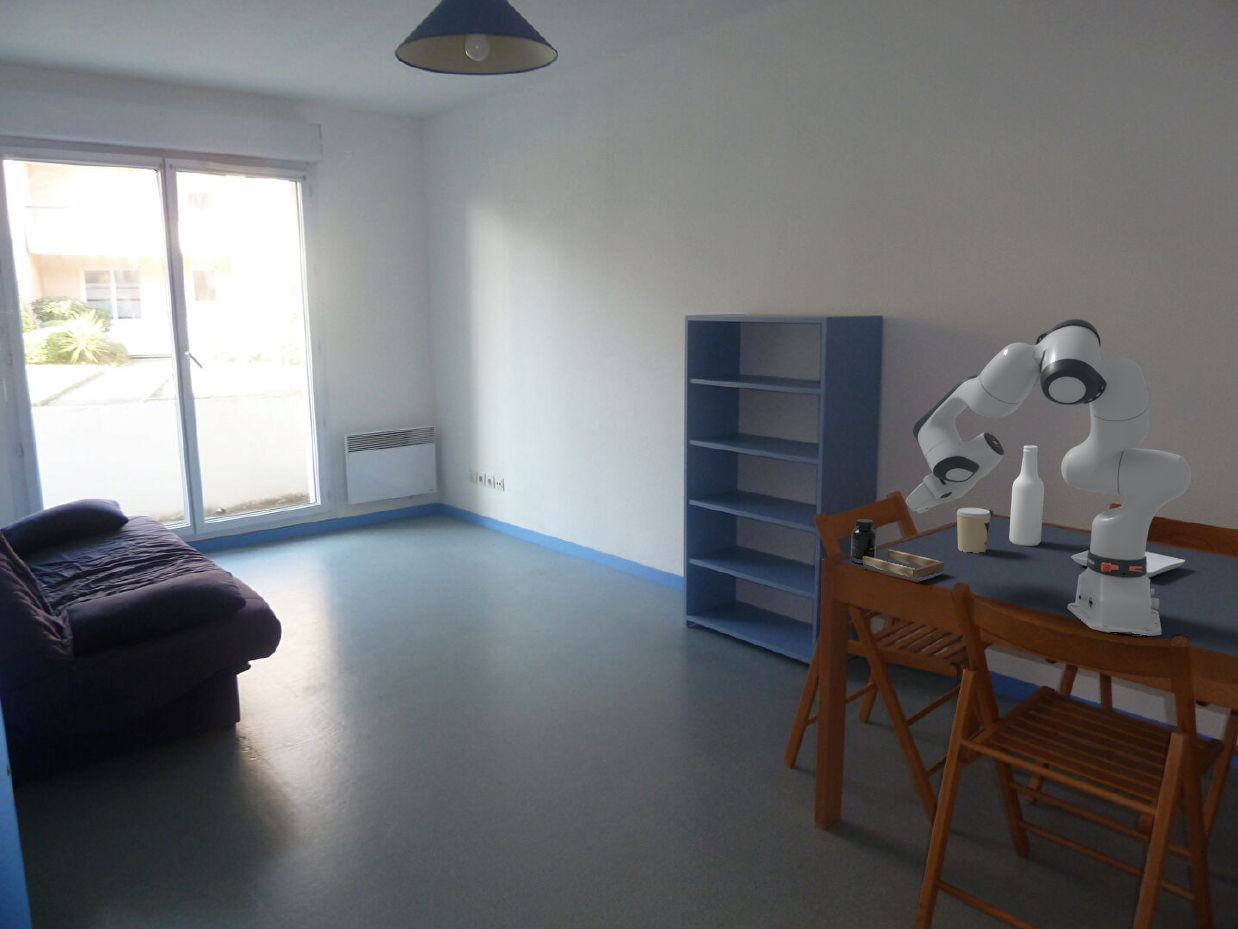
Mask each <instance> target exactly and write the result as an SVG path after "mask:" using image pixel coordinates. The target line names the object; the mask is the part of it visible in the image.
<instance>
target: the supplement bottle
mask: <svg viewBox="0 0 1238 929" xmlns="http://www.w3.org/2000/svg"><path fill="white" fill-rule="evenodd" d="M873 528H874V521H873V519H866V518H860V519H856V520H855V528H854V529H853V530H852V531H851V543H850V544H851V546H850V557H851V556H852V555H853V556H852V558H856V559H860V560H863V557H864V556H867V557H871V558H875V559H876V553H877V531H876V530H874V529H873ZM854 554H856V555H854Z"/></svg>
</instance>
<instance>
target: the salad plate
mask: <svg viewBox="0 0 1238 929" xmlns="http://www.w3.org/2000/svg"><path fill="white" fill-rule="evenodd" d="M1089 550H1090V549H1089ZM1089 550H1088V549H1087V550H1086V551H1083V552H1080V553H1076V554H1073V555H1072V556H1070V557H1071V559H1072V560H1073V561H1075V563H1078V564H1079V565H1082V566H1085V567H1088V566H1087V555H1088V551H1089ZM1145 556H1146V557H1147V574H1146V576H1147V577H1148V578H1149V579H1150V578H1151V577H1154V576H1158V575H1160V574H1163V573H1166V572H1168V571H1171V570H1174V569H1178V568H1179V567H1181V566H1183V564H1185V562H1186V560H1185V559H1182V558H1177V557H1173V556H1167V555H1164V554H1159V553H1156V552H1155V553H1154V552H1150V551H1145ZM1157 574H1158V575H1157Z"/></svg>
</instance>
